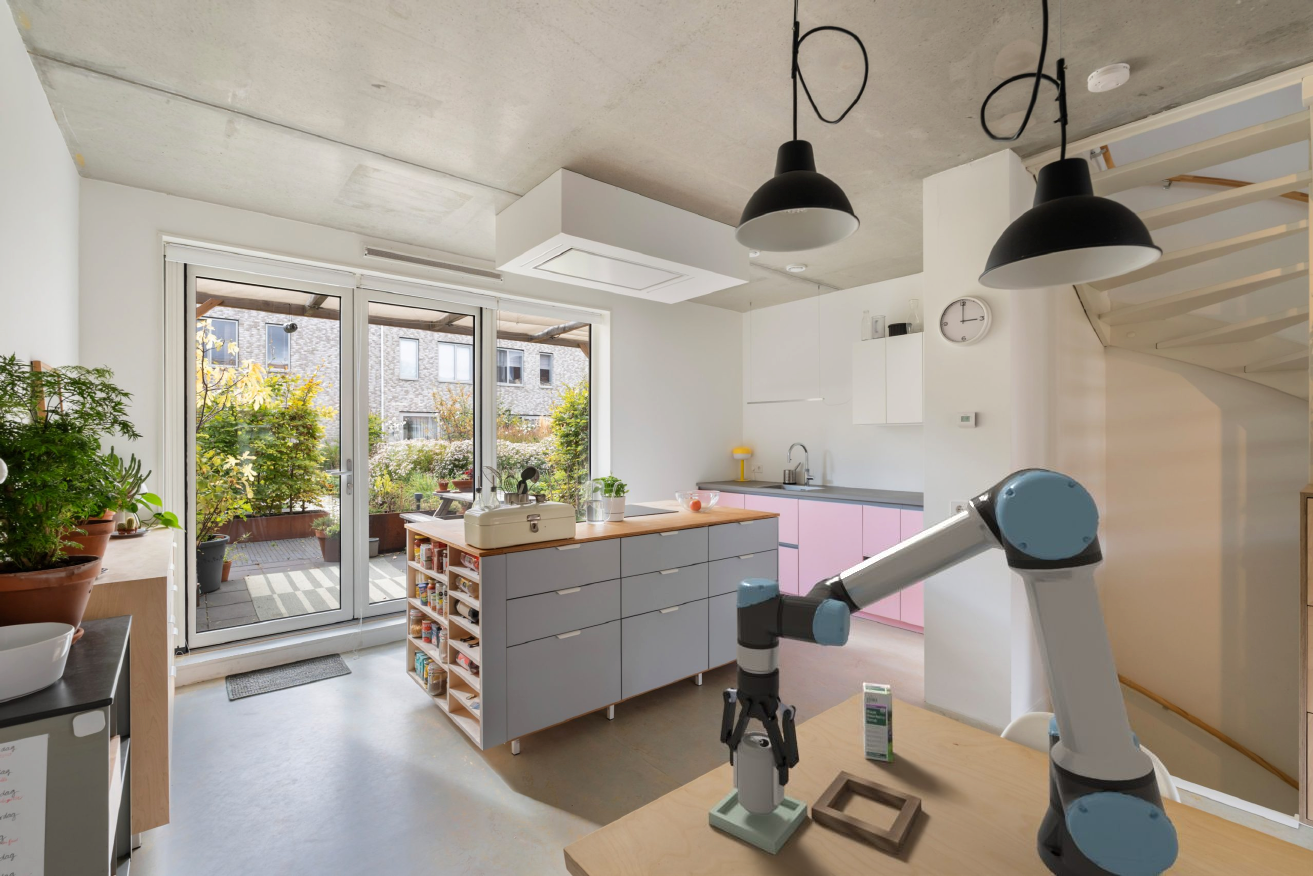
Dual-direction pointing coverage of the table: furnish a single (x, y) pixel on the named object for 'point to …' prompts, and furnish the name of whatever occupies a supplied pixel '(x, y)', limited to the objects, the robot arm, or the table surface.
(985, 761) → the table surface
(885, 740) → the syrup box
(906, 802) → the holder
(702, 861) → the table surface
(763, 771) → the can
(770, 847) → the tray
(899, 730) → the table surface
